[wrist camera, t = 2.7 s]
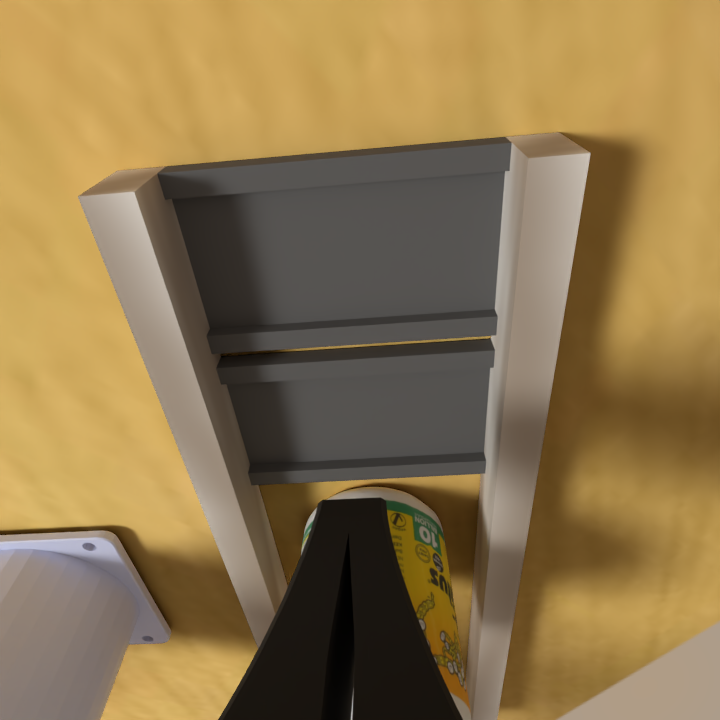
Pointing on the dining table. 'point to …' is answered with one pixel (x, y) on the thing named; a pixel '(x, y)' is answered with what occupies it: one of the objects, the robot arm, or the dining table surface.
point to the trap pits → (351, 303)
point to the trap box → (505, 397)
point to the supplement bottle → (422, 579)
